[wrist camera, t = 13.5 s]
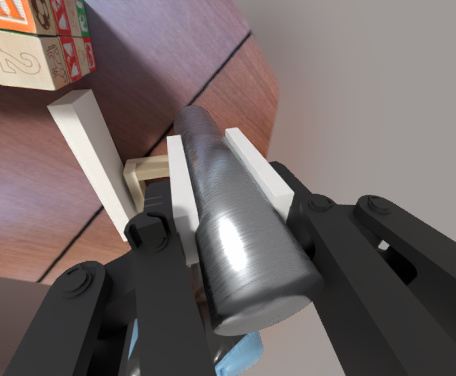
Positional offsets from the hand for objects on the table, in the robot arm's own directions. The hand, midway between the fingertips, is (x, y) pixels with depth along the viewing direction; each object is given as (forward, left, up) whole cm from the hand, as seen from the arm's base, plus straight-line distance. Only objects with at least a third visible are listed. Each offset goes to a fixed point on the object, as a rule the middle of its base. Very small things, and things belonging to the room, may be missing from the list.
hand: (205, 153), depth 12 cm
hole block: (-13, +6, -18) cm, 23 cm away
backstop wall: (-9, +11, -18) cm, 23 cm away
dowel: (0, 0, -5) cm, 5 cm away
